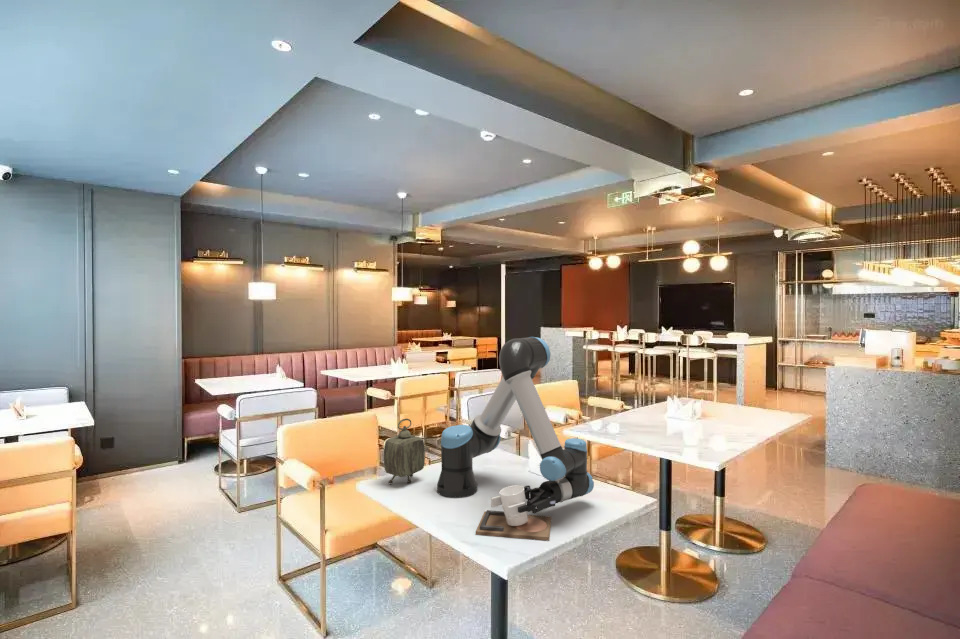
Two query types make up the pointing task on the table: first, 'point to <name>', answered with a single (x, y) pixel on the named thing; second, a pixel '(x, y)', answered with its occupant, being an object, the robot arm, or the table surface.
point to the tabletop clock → (404, 454)
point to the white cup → (510, 498)
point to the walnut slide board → (497, 526)
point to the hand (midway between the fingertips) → (500, 507)
